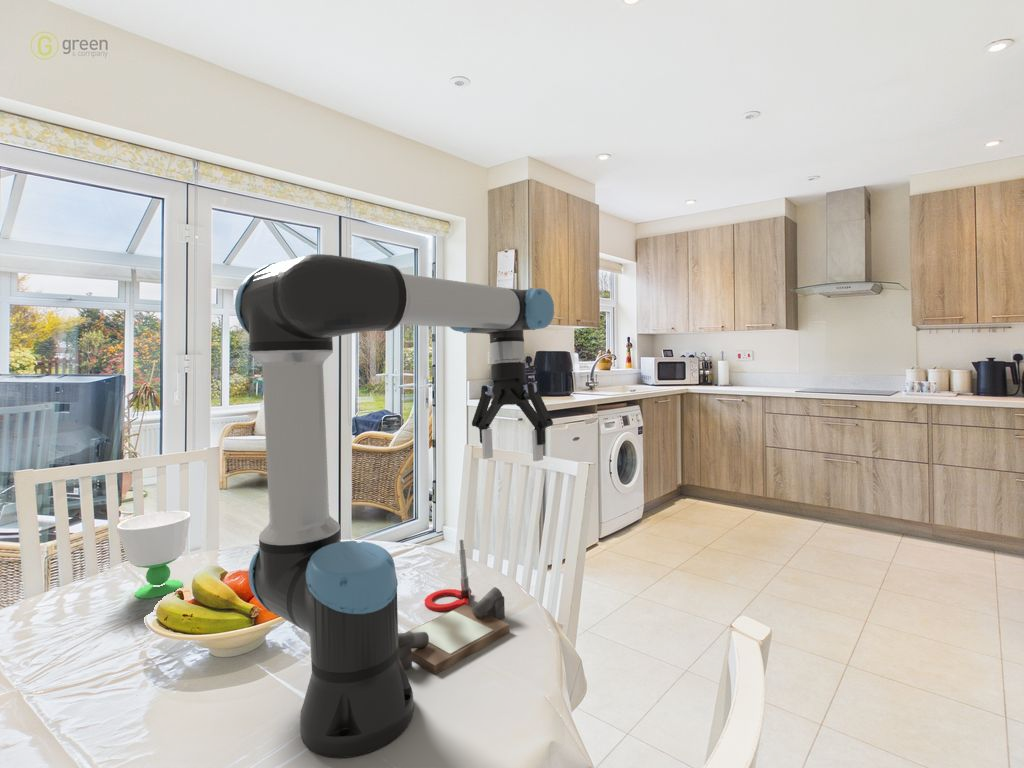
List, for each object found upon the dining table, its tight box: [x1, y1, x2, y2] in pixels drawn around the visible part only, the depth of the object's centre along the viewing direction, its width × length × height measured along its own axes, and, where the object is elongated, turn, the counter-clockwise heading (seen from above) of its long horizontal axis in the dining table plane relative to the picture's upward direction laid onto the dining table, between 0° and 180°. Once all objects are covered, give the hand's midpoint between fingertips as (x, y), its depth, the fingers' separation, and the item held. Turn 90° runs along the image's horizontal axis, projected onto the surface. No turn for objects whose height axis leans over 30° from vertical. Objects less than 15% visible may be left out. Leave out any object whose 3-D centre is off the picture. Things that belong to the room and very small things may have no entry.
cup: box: [116, 510, 191, 600], centre depth 119 cm, size 14×14×16 cm
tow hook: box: [424, 539, 472, 612], centre depth 110 cm, size 8×13×9 cm
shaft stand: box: [398, 586, 511, 675], centre depth 95 cm, size 24×12×6 cm, turn 136°
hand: (512, 459), depth 118 cm, fingers open, 13 cm apart
